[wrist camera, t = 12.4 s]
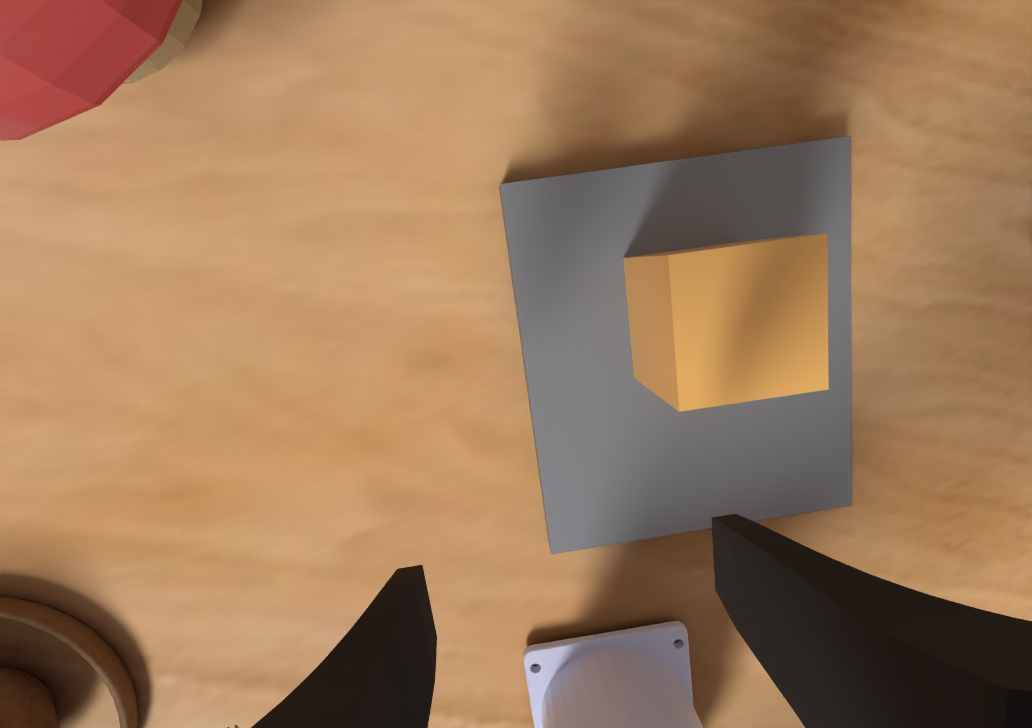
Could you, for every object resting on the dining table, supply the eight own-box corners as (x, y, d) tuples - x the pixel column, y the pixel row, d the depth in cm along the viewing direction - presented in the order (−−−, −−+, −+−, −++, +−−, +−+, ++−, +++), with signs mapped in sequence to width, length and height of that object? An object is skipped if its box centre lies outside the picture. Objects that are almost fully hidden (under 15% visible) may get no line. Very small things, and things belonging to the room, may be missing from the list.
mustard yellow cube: (749, 360, 21) (828, 389, 16) (633, 377, 21) (679, 411, 16) (744, 241, 20) (827, 233, 15) (623, 257, 20) (668, 255, 15)
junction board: (836, 495, 24) (916, 547, 19) (548, 542, 23) (563, 606, 19) (833, 142, 21) (927, 108, 16) (499, 187, 20) (503, 166, 16)
